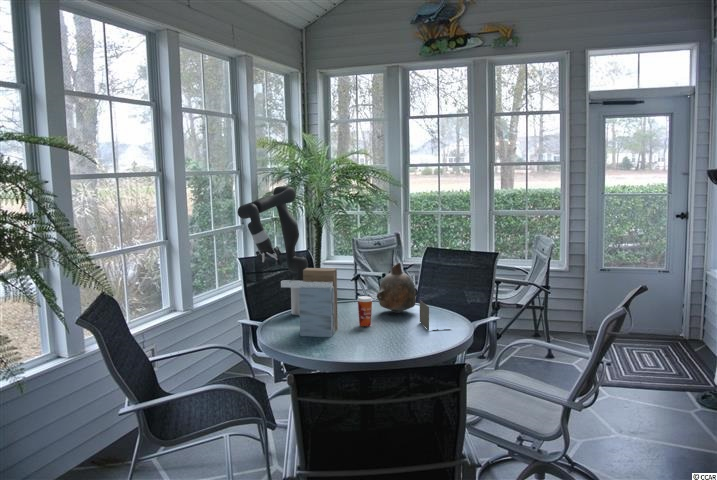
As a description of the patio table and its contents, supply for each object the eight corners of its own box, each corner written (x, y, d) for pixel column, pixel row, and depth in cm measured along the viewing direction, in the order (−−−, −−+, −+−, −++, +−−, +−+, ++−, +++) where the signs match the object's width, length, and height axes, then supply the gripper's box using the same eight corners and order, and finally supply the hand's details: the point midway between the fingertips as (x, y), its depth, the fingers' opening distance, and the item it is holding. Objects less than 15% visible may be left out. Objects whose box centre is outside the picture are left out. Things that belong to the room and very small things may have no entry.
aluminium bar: (283, 285, 290) (282, 280, 290) (332, 287, 286) (332, 281, 286) (280, 287, 287) (280, 281, 287) (331, 288, 282) (331, 282, 282)
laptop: (451, 330, 294) (452, 306, 292) (428, 332, 292) (428, 307, 291) (441, 322, 312) (441, 298, 310) (419, 323, 310) (419, 299, 308)
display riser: (307, 328, 300) (306, 267, 297) (337, 329, 298) (336, 268, 294) (300, 335, 286) (298, 272, 282) (331, 337, 283) (330, 273, 279)
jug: (392, 306, 347) (392, 258, 344) (423, 311, 335) (423, 260, 331) (369, 315, 328) (369, 263, 324) (401, 320, 315) (401, 266, 312)
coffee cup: (361, 327, 300) (361, 299, 298) (354, 324, 307) (354, 297, 305) (375, 325, 303) (375, 298, 302) (368, 322, 311) (368, 295, 309)
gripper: (275, 233, 294) (288, 260, 300) (255, 238, 302) (268, 264, 307) (268, 240, 288) (281, 268, 294) (247, 244, 296) (260, 271, 301)
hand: (274, 266), depth 300 cm, fingers open, 8 cm apart
